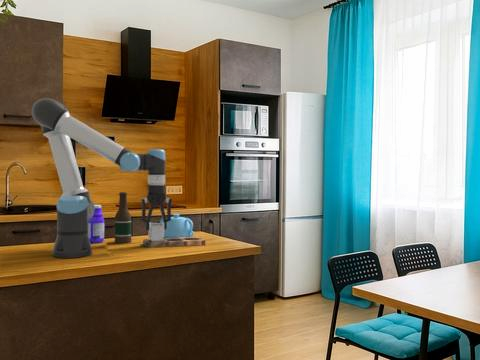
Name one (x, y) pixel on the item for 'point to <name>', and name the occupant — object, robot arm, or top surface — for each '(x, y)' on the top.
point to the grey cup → (156, 232)
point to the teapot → (178, 227)
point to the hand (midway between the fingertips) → (156, 237)
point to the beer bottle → (123, 221)
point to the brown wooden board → (175, 242)
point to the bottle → (96, 226)
